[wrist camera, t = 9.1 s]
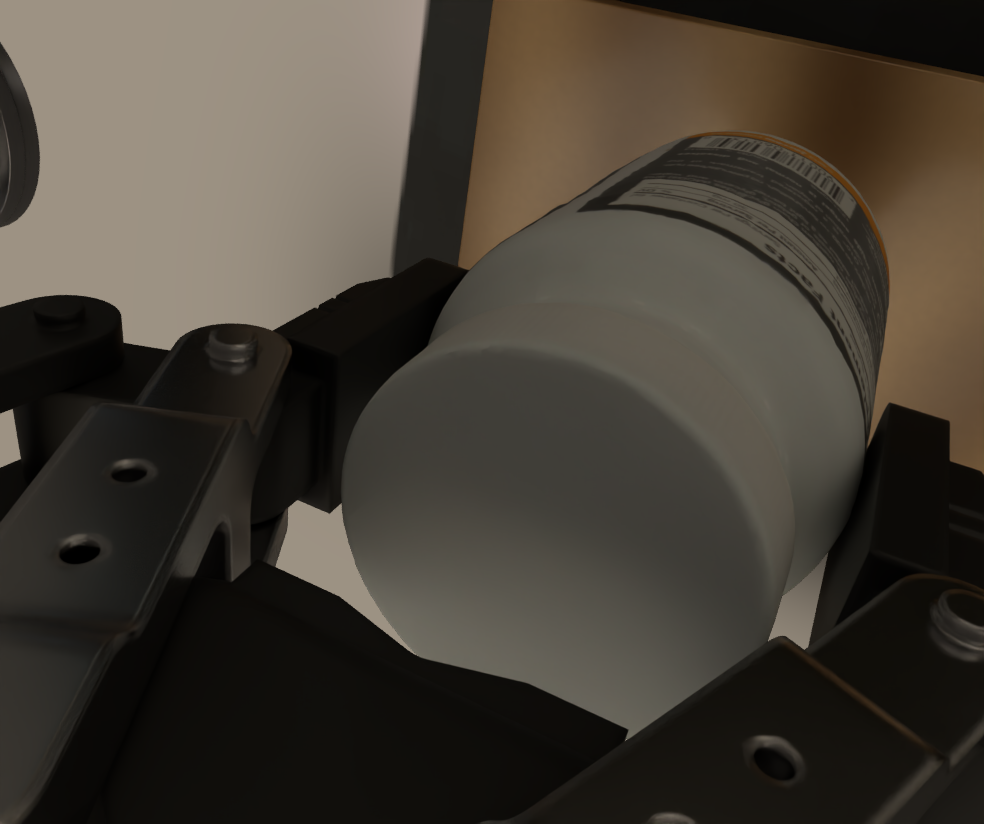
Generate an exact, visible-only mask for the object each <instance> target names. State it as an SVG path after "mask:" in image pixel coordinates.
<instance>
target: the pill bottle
mask: <svg viewBox="0 0 984 824" xmlns="http://www.w3.org/2000/svg"><path fill="white" fill-rule="evenodd" d="M889 295H890V272H889V262H888V257H887V252H886V247H885V244H884V241H883V237H882V234H881V231H880V228H879V226H878V224H877V222H876V220H875V218H874V216H873V214H872V212H871V210H870V208H869V206H868V205H867V203H866V202H865V200H864V199H863V197H862V196H861V194H860V193H859V191H858V190H857V189H856V188H855V187H854V186H853V184H852V183H851V182H850V181H849V180H848V179H847V178H846V177H845V176H844V175H843V174H842V173H841V172H840V171H839V170H838V169H837V168H835V167H834V166H833V165H832V164H830V163H829V162H827V161H826V160H825V159H823V158H822V157H820V156H819V155H817V154H816V153H814V152H812V151H810V150H808V149H806V148H804V147H803V146H800V145H798V144H796V143H794V142H791V141H788V140H785V139H783V138H779V137H776V136H773V135H769V134H764V133H759V132H752V131H734V130H730V131H714V132H705V133H699V134H695V135H690V136H687V137H684V138H681V139H678V140H675V141H673V142H670V143H668V144H665V145H663V146H661V147H659V148H657V149H655V150H653V151H651V152H648V153H647V154H645V155H643V156H640V157H639V158H637V159H635V160H633V161H632V162H630V163H628V164H627V165H625V166H623V167H621V168H619V169H617V170H615V171H613V172H612V173H610V174H609V175H608V176H606V177H605V178H604V179H602V180H600V181H599V182H597V183H596V184H595V185H594V186H592V187H591V188H589V189H588V190H586V191H585V192H583V193H581V194H580V195H578V196H576V197H575V198H573V199H572V200H571V201H569V202H568V203H566V204H562V205H559V206H557V207H556V208H554V209H552V210H551V211H549V212H548V213H547V214H545V215H544V216H543V217H541V218H540V219H538V220H536V221H534V222H533V223H531V224H529V225H528V226H526V227H524V228H523V229H521V230H520V231H518V232H517V233H515V234H514V235H512V236H510V237H509V238H507V239H505V240H504V241H502V242H501V243H499V244H498V245H497V246H496V247H494V248H493V249H492V250H490V251H489V252H488V253H487V254H486V255H484V256H483V257H482V258H481V259H480V260H479V261H478V262H477V263H476V264H475V265H474V266H473V267H472V268H471V269H470V270H469V271H468V273H467V274H466V275H465V277H464V278H463V279H462V281H461V282H460V283H459V285H458V286H457V287H456V289H455V290H454V292H453V293H452V294H451V296H450V298H449V299H448V301H447V303H446V304H445V306H444V307H443V309H442V311H441V313H440V315H439V317H438V319H437V321H436V324H435V326H434V328H433V331H432V334H431V337H430V339H429V342H428V346H427V347H426V348H425V349H424V350H423V351H422V352H420V353H419V354H418V355H416V356H415V357H414V358H413V359H411V360H410V361H409V362H408V363H406V364H405V365H404V366H402V367H401V368H400V369H399V370H397V371H396V372H395V373H394V374H393V375H392V376H391V377H390V378H389V379H388V380H387V381H386V382H385V383H384V384H383V385H382V386H381V387H380V389H379V390H378V391H377V392H376V394H375V395H374V396H373V397H372V399H371V400H370V401H369V403H368V404H367V406H366V407H365V409H364V410H363V412H362V413H361V415H360V417H359V419H358V421H357V423H356V425H355V426H354V429H353V431H352V434H351V437H350V439H349V442H348V446H347V449H346V453H345V457H344V462H343V468H342V481H341V501H342V513H343V522H344V526H345V530H346V534H347V538H348V542H349V545H350V548H351V551H352V554H353V557H354V559H355V564H356V566H357V569H358V571H359V573H360V575H361V577H362V580H363V582H364V584H365V586H366V587H367V589H368V591H369V593H370V595H371V596H372V598H373V599H374V601H375V602H376V604H377V606H378V607H379V609H380V611H381V612H382V614H383V615H384V617H385V618H386V619H387V621H388V622H389V623H390V625H391V626H392V627H393V628H394V629H395V631H396V632H397V633H398V635H399V636H400V637H401V638H402V640H403V641H404V642H405V643H406V644H407V645H408V646H409V647H410V648H411V649H412V650H413V651H414V653H416V654H417V655H418V656H419V657H421V658H425V659H428V660H432V661H437V662H441V663H445V664H449V665H453V666H458V667H462V668H466V669H470V670H475V671H479V672H483V673H487V674H491V675H496V676H500V677H504V678H508V679H513V680H517V681H521V682H525V683H528V684H531V685H533V686H535V687H537V688H539V689H542V690H544V691H546V692H548V693H550V694H552V695H555V696H557V697H559V698H561V699H563V700H565V701H568V702H570V703H572V704H574V705H576V706H578V707H581V708H583V709H585V710H587V711H589V712H592V713H594V714H596V715H598V716H600V717H602V718H605V719H607V720H609V721H611V722H613V723H615V724H618V725H620V726H622V727H624V728H626V729H629V730H628V734H627V737H626V739H629V738H630V737H632V736H633V735H635V734H636V733H638V732H639V731H641V730H642V729H643V728H645V727H646V726H648V725H649V724H651V723H652V722H653V721H655V720H656V719H658V718H659V717H661V716H662V715H663V714H665V713H666V712H668V711H669V710H671V709H672V708H673V707H675V706H676V705H678V704H679V703H681V702H682V701H683V700H685V699H686V698H688V697H689V696H691V695H692V694H693V693H695V692H696V691H698V690H699V689H701V688H702V687H703V686H705V685H706V684H708V683H709V682H711V681H712V680H714V679H715V678H716V677H718V676H719V675H721V674H722V673H724V672H725V671H726V670H728V669H729V668H731V667H732V666H734V665H735V664H736V663H738V662H739V661H741V660H742V659H744V658H745V657H746V656H748V655H749V654H751V653H752V652H754V651H755V650H756V649H758V648H759V647H761V646H762V645H764V644H765V643H767V642H768V639H769V636H770V633H771V630H772V628H773V625H774V622H775V619H776V615H777V612H778V608H779V605H780V601H781V598H782V596H783V595H784V594H786V593H787V592H788V591H790V590H791V589H793V588H794V587H795V586H796V585H797V584H798V583H800V582H801V581H802V580H803V579H804V578H805V577H806V576H807V575H808V574H809V573H810V572H811V571H812V570H813V569H814V568H815V567H816V566H817V565H818V564H819V563H820V561H821V560H822V559H823V558H824V556H825V555H826V554H827V553H828V552H829V550H830V549H831V548H832V546H833V545H834V543H835V541H836V540H837V539H838V538H839V536H840V535H841V534H842V532H843V531H844V530H845V527H846V525H847V523H848V521H849V519H850V517H851V515H852V512H853V509H854V505H855V502H856V499H857V496H858V493H859V490H860V486H861V483H862V479H863V477H864V467H865V458H866V453H867V447H868V440H869V435H870V429H871V422H872V418H873V409H874V402H875V394H876V387H877V381H878V375H879V368H880V361H881V356H882V352H883V345H884V337H885V329H886V322H887V312H888V308H889Z"/></svg>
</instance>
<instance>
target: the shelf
mask: <svg viewBox="0 0 984 824" xmlns="http://www.w3.org/2000/svg"><path fill="white" fill-rule="evenodd" d="M730 130H734V131H752V132H759V133H764V134H769V135H773V136H776V137H779V138H783V139H785V140H788V141H791V142H794V143H796V144H798V145H800V146H803V147H804V148H806V149H808V150H810V151H812V152H814V153H816V154H817V155H819V156H820V157H822V158H823V159H825V160H826V161H827V162H829V163H830V164H832V165H833V166H834V167H835V168H837V169H838V170H839V171H840V172H841V173H842V174H843V175H844V176H845V177H846V178H847V179H848V180H849V181H850V182H851V183H852V184H853V186H854V187H855V188H856V189H857V190H858V191H859V193H860V194H861V196H862V197H863V199H864V200H865V202H866V203H867V205H868V206H869V208H870V210H871V212H872V214H873V216H874V218H875V220H876V222H877V224H878V226H879V228H880V231H881V234H882V237H883V241H884V244H885V247H886V252H887V257H888V262H889V272H890V295H889V308H888V312H887V322H886V329H885V337H884V345H883V352H882V356H881V361H880V368H879V375H878V381H877V387H876V394H875V402H874V409H873V418H872V422H871V429H870V435H869V440H868V446H869V444H870V441H871V439H872V437H873V434H874V432H875V430H876V427H877V425H878V423H879V420H880V418H881V416H882V414H883V412H884V410H885V408H886V406H887V405H888V403H889V402H891V403H894V404H897V405H901V406H904V407H907V408H910V409H913V410H917V411H920V412H923V413H926V414H929V415H933V416H936V417H939V418H942V419H945V420H949V421H950V461H952V462H955V463H958V464H961V465H964V466H967V467H970V468H973V469H976V470H979V471H981V472H982V473H983V474H984V77H982V76H978V75H973V74H968V73H963V72H958V71H953V70H949V69H944V68H939V67H934V66H929V65H924V64H920V63H915V62H910V61H905V60H900V59H895V58H891V57H886V56H881V55H876V54H871V53H866V52H862V51H857V50H852V49H847V48H842V47H837V46H833V45H828V44H823V43H818V42H813V41H808V40H804V39H799V38H794V37H789V36H784V35H780V34H775V33H770V32H765V31H760V30H755V29H751V28H746V27H741V26H736V25H731V24H726V23H722V22H717V21H712V20H707V19H702V18H697V17H693V16H688V15H683V14H678V13H673V12H668V11H664V10H659V9H654V8H649V7H644V6H639V5H635V4H630V3H625V2H620V1H619V0H493V6H492V13H491V21H490V28H489V36H488V43H487V51H486V59H485V66H484V74H483V81H482V89H481V96H480V104H479V111H478V119H477V126H476V134H475V142H474V149H473V157H472V164H471V172H470V179H469V187H468V194H467V202H466V209H465V217H464V225H463V232H462V240H461V247H460V255H459V262H458V267H461V268H464V269H467V270H470V269H471V268H472V267H473V266H474V265H475V264H476V263H477V262H478V261H479V260H480V259H481V258H482V257H483V256H484V255H486V254H487V253H488V252H489V251H490V250H492V249H493V248H494V247H496V246H497V245H498V244H499V243H501V242H502V241H504V240H505V239H507V238H509V237H510V236H512V235H514V234H515V233H517V232H518V231H520V230H521V229H523V228H524V227H526V226H528V225H529V224H531V223H533V222H534V221H536V220H538V219H540V218H541V217H543V216H544V215H545V214H547V213H548V212H549V211H551V210H552V209H554V208H556V207H557V206H559V205H562V204H566V203H568V202H569V201H571V200H572V199H573V198H575V197H576V196H578V195H580V194H581V193H583V192H585V191H586V190H588V189H589V188H591V187H592V186H594V185H595V184H596V183H597V182H599V181H600V180H602V179H604V178H605V177H606V176H608V175H609V174H610V173H612V172H613V171H615V170H617V169H619V168H621V167H623V166H625V165H627V164H628V163H630V162H632V161H633V160H635V159H637V158H639V157H640V156H643V155H645V154H647V153H648V152H651V151H653V150H655V149H657V148H659V147H661V146H663V145H665V144H668V143H670V142H673V141H675V140H678V139H681V138H684V137H687V136H690V135H695V134H699V133H705V132H714V131H730ZM867 448H868V447H867Z"/></svg>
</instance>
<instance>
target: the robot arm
mask: <svg viewBox="0 0 984 824" xmlns="http://www.w3.org/2000/svg"><path fill="white" fill-rule="evenodd" d="M468 271H469V270H467V269H464V268H461V267H458V266H455V265H451V264H448V263H445V262H442V261H438V260H435V259H432V258H426V259H423V260H422V261H420V262H418V263H416V264H415V265H413V266H411V267H409V268H408V269H406V270H404V271H403V272H401V273H399V274H397V275H396V276H394V277H392V278H383V279H378V280H373V281H369V282H364V283H359V284H356V285H355V286H353V287H351V288H349V289H347V290H346V291H344V292H342V293H340V294H339V295H337V296H336V298H335V299H334V298H331V299H329V300H327V301H326V302H324V303H322V304H320V305H319V308H318V309H317V308H313V309H311V310H309V311H308V312H306V313H304V314H302V315H300V316H299V317H297V318H295V319H293V320H291V321H289V322H288V323H286V324H284V325H282V326H280V327H278V328H277V329H275V330H273V331H271V330H269V329H266V328H262V327H259V326H253V325H247V324H216V325H210V326H205V327H201V328H198V329H195V330H192V331H190V332H188V333H186V334H185V335H183V336H182V337H180V338H179V340H178V341H177V342H176V343H175V345H174V346H173V347H172V349H171V350H163V349H158V348H151V347H145V346H139V345H133V344H127V343H123V331H122V320H121V314H120V312H119V310H118V309H117V308H116V307H115V306H113V305H111V304H110V303H108V302H105V301H103V300H99V299H96V298H91V297H86V296H77V295H54V296H45V297H38V298H33V299H29V300H25V301H22V302H18V303H15V304H11V305H7V306H4V307H0V413H2V412H5V411H8V410H11V409H13V413H14V419H15V425H16V431H17V438H18V444H19V449H20V456H21V459H20V460H18V461H15V462H13V463H11V464H8V465H6V466H4V467H1V468H0V824H984V474H983V473H982V472H981V471H979V470H976V469H973V468H970V467H967V466H964V465H961V464H958V463H955V462H952V461H950V421H949V420H945V419H942V418H939V417H936V416H933V415H929V414H926V413H923V412H920V411H917V410H913V409H910V408H907V407H904V406H901V405H897V404H894V403H891V402H889V403H888V405H887V406H886V408H885V410H884V412H883V414H882V416H881V418H880V420H879V423H878V425H877V427H876V430H875V432H874V434H873V437H872V439H871V441H870V444H869V446H868V448H867V453H866V458H865V467H864V477H863V479H862V483H861V486H860V490H859V493H858V496H857V499H856V502H855V505H854V509H853V512H852V515H851V517H850V519H849V521H848V523H847V525H846V527H845V530H844V531H843V532H842V534H841V535H840V536H839V538H838V539H837V540H836V541H835V543H834V545H833V546H832V548H831V549H830V550H829V552H828V557H827V561H826V567H825V571H824V576H823V581H822V585H821V590H820V594H819V599H818V604H817V608H816V613H815V618H814V623H813V627H812V632H811V637H810V641H809V646H808V648H806V649H805V650H804V649H802V648H801V647H800V646H798V645H797V644H795V643H794V642H793V641H791V640H790V639H789V638H787V637H786V636H778V637H776V638H774V639H771V640H770V641H768V642H767V643H765V644H764V645H762V646H761V647H759V648H758V649H756V650H755V651H754V652H752V653H751V654H749V655H748V656H746V657H745V658H744V659H742V660H741V661H739V662H738V663H736V664H735V665H734V666H732V667H731V668H729V669H728V670H726V671H725V672H724V673H722V674H721V675H719V676H718V677H716V678H715V679H714V680H712V681H711V682H709V683H708V684H706V685H705V686H703V687H702V688H701V689H699V690H698V691H696V692H695V693H693V694H692V695H691V696H689V697H688V698H686V699H685V700H683V701H682V702H681V703H679V704H678V705H676V706H675V707H673V708H672V709H671V710H669V711H668V712H666V713H665V714H663V715H662V716H661V717H659V718H658V719H656V720H655V721H653V722H652V723H651V724H649V725H648V726H646V727H645V728H643V729H642V730H641V731H639V732H638V733H636V734H635V735H633V736H632V737H630V738H629V739H628V740H626V737H627V734H628V730H629V729H626V728H624V727H622V726H620V725H618V724H615V723H613V722H611V721H609V720H607V719H605V718H602V717H600V716H598V715H596V714H594V713H592V712H589V711H587V710H585V709H583V708H581V707H578V706H576V705H574V704H572V703H570V702H568V701H565V700H563V699H561V698H559V697H557V696H555V695H552V694H550V693H548V692H546V691H544V690H542V689H539V688H537V687H535V686H533V685H531V684H528V683H525V682H521V681H517V680H513V679H508V678H504V677H500V676H496V675H491V674H487V673H483V672H479V671H475V670H470V669H466V668H462V667H458V666H453V665H449V664H445V663H441V662H437V661H432V660H428V659H425V658H421V657H419V656H417V655H414V654H413V653H411V652H410V651H408V650H407V649H406V648H404V647H403V646H402V645H400V644H399V643H398V642H396V641H395V640H394V639H393V638H392V637H390V636H389V635H388V634H386V633H385V632H384V631H383V630H381V629H380V628H379V627H377V626H376V625H375V624H374V623H372V622H371V621H370V620H369V619H367V618H366V617H365V616H363V615H362V614H361V613H360V612H358V611H357V610H356V609H355V608H353V607H352V606H351V605H349V604H348V603H347V602H345V601H344V600H343V599H342V598H341V597H339V596H337V595H335V594H332V593H331V592H328V591H326V590H324V589H322V588H320V587H317V586H315V585H313V584H311V583H309V582H306V581H304V580H302V579H300V578H298V577H296V576H293V575H291V574H289V573H287V572H285V571H283V570H280V569H278V568H276V567H275V566H276V562H277V559H278V556H279V553H280V550H281V547H282V544H283V541H284V538H285V534H286V532H287V526H288V507H289V506H290V505H292V504H293V503H294V502H295V501H297V500H299V501H301V502H304V503H306V504H308V505H311V506H313V507H315V508H318V509H320V510H322V511H325V512H327V513H331V512H332V511H333V510H334V509H335V508H336V507H337V506H339V505H340V504H341V503H342V501H341V481H342V468H343V462H344V457H345V453H346V449H347V446H348V442H349V439H350V437H351V434H352V431H353V429H354V426H355V425H356V423H357V421H358V419H359V417H360V415H361V413H362V412H363V410H364V409H365V407H366V406H367V404H368V403H369V401H370V400H371V399H372V397H373V396H374V395H375V394H376V392H377V391H378V390H379V389H380V387H381V386H382V385H383V384H384V383H385V382H386V381H387V380H388V379H389V378H390V377H391V376H392V375H393V374H394V373H395V372H396V371H397V370H399V369H400V368H401V367H402V366H404V365H405V364H406V363H408V362H409V361H410V360H411V359H413V358H414V357H415V356H416V355H418V354H419V353H420V352H422V351H423V350H424V349H425V348H426V347H427V346H428V342H429V339H430V337H431V334H432V331H433V328H434V326H435V324H436V321H437V319H438V317H439V315H440V313H441V311H442V309H443V307H444V306H445V304H446V303H447V301H448V299H449V298H450V296H451V294H452V293H453V292H454V290H455V289H456V287H457V286H458V285H459V283H460V282H461V281H462V279H463V278H464V277H465V275H466V274H467V273H468ZM625 740H626V741H625Z"/></svg>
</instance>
